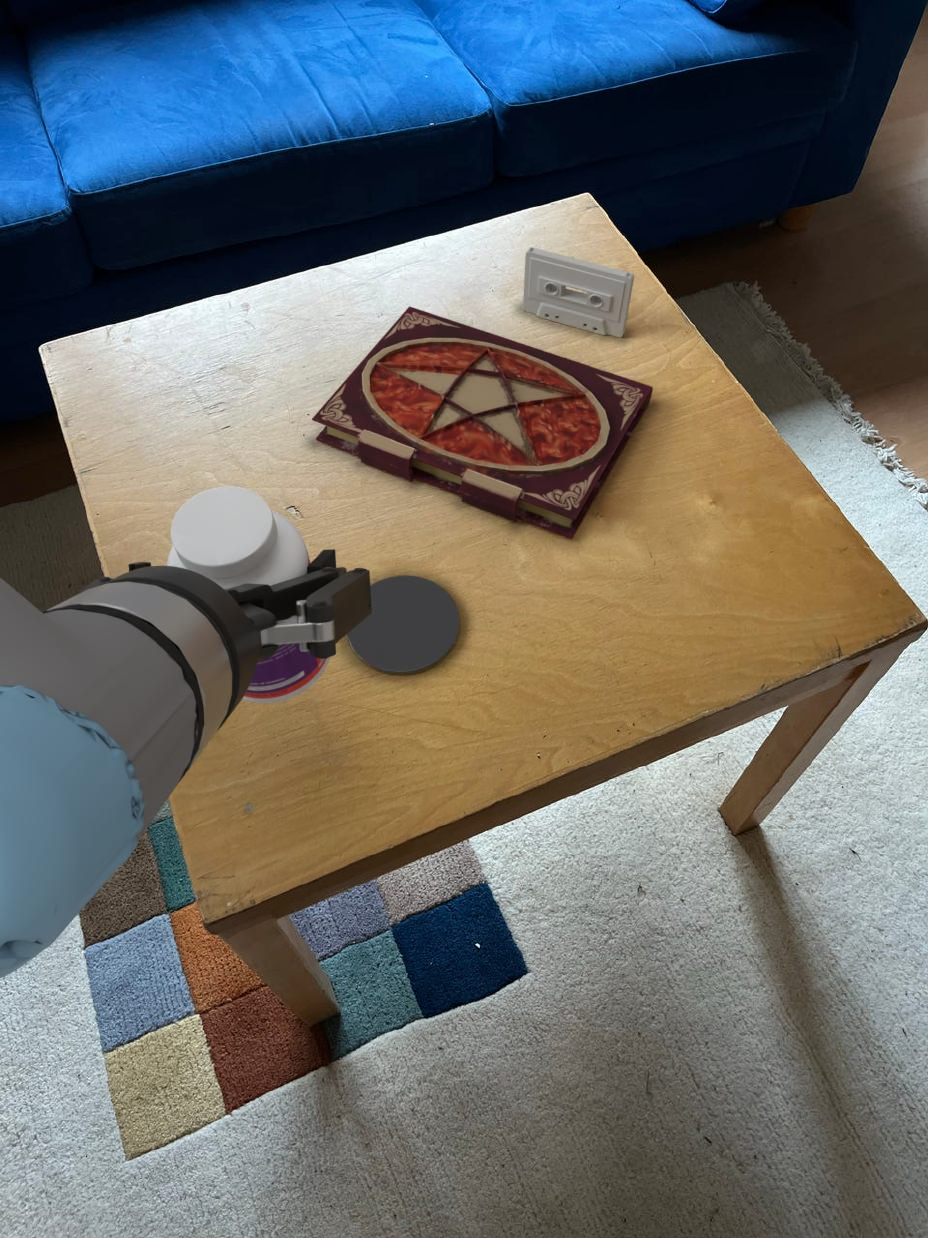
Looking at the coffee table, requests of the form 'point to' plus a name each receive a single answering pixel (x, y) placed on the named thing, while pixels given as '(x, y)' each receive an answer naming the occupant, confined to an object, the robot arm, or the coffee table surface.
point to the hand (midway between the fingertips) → (263, 572)
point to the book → (485, 419)
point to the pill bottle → (247, 570)
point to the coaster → (406, 626)
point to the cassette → (587, 311)
